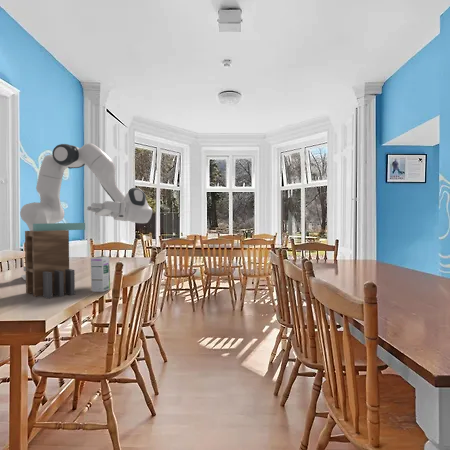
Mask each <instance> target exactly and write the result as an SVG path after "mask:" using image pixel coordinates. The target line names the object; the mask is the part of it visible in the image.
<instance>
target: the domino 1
mask: <svg viewBox="0 0 450 450" xmlns="http://www.w3.org/2000/svg"><path fill="white" fill-rule="evenodd" d="M42 297H44V298H45V299H52V298H53V294H52V272H48V271H44V272H43V295H42Z"/></svg>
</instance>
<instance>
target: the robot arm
mask: <svg viewBox="0 0 450 450" xmlns="http://www.w3.org/2000/svg"><path fill="white" fill-rule="evenodd" d="M85 166H86V167H87V168H88V169H89V170H91V171H92V173H93V174H94V175H95V177H96V178H97V179H98V182H99V183H100V186H101V187H102V188H103V190H104V191H105V192H106V194H107V195H108V196H109V197H110V198H111V200H112V201H110V200H105V201H103V202H102V203H101V202H100V203H98V202H92V203H91V206H87V209H86V211H90V212H92V213H95V214H94V215H96V216H100V217H112V218H113V220H114V221H122V222H131V223H135V224H147V223H149V222H150V220H151V219H152V216H153V213H154V212H153V208H152V207H151V206H150V205H149V203H148V201H147V197H146V196H147V195H146V193H145V191H143V190H142V189H141V188H139V187H138V188H137V187H131V188H130V189H128V191H127V192H126V194H124V193H123V192H122V191H121V189H120V188H119V187H118V185H117V184H116V165H115V163H114V161H113V160H112V159H111V157H109V155H108V154H107V153H106V152H105V151H103V150H102V149H101V148H100V147H99V146H97V145H96V144H94V143H92V142H88V143H85V144H83V145H82V146H81V147H78V146H76V145H74V144H73V145H72V144H67V143H60V144H57V145H55V147H54V148H53V149H52V154H47V155H45V156H44V158H43V160H42V162H41V165H40V167H39V170H38V171H39V172H38V177H37V182H36V187H35V189H36V192H37V193H38V194H39V199H40V200H39V201H40V202H29V203H26V204H24V205H23V206H22V207H21V209H20V211H19V214H20V219H21V220H22V221H23V222H24V223H25V224H26V226H27V228H28V231H33V224H44V223H60V222H61V221H63V219H64V217H65V209H64V208H63V206H62V203H61V188H62V182H63V176H64V172H65V170H66V169H79V168H83V167H85ZM23 272H26V266H24V267H23ZM20 278H22V279H23V280H24V281H26V273H25V274H21V275H20Z"/></svg>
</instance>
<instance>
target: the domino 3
mask: <svg viewBox="0 0 450 450" xmlns="http://www.w3.org/2000/svg"><path fill="white" fill-rule="evenodd" d="M75 275H76V274H75V269H71V268H69V269H65V284H66V292H65V294H67V295H70V296H72V295H73V296H74V295H75V294H76V291H75V290H76V288H75V287H76V285H75Z"/></svg>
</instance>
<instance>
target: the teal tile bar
mask: <svg viewBox="0 0 450 450" xmlns="http://www.w3.org/2000/svg"><path fill="white" fill-rule="evenodd" d="M56 230H69V231H79V230H80V231H82V230H83V231H84V230H85V231H86V222H63V223H62V222H61V223H60V222H57V223H44V224H33V231H56Z"/></svg>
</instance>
